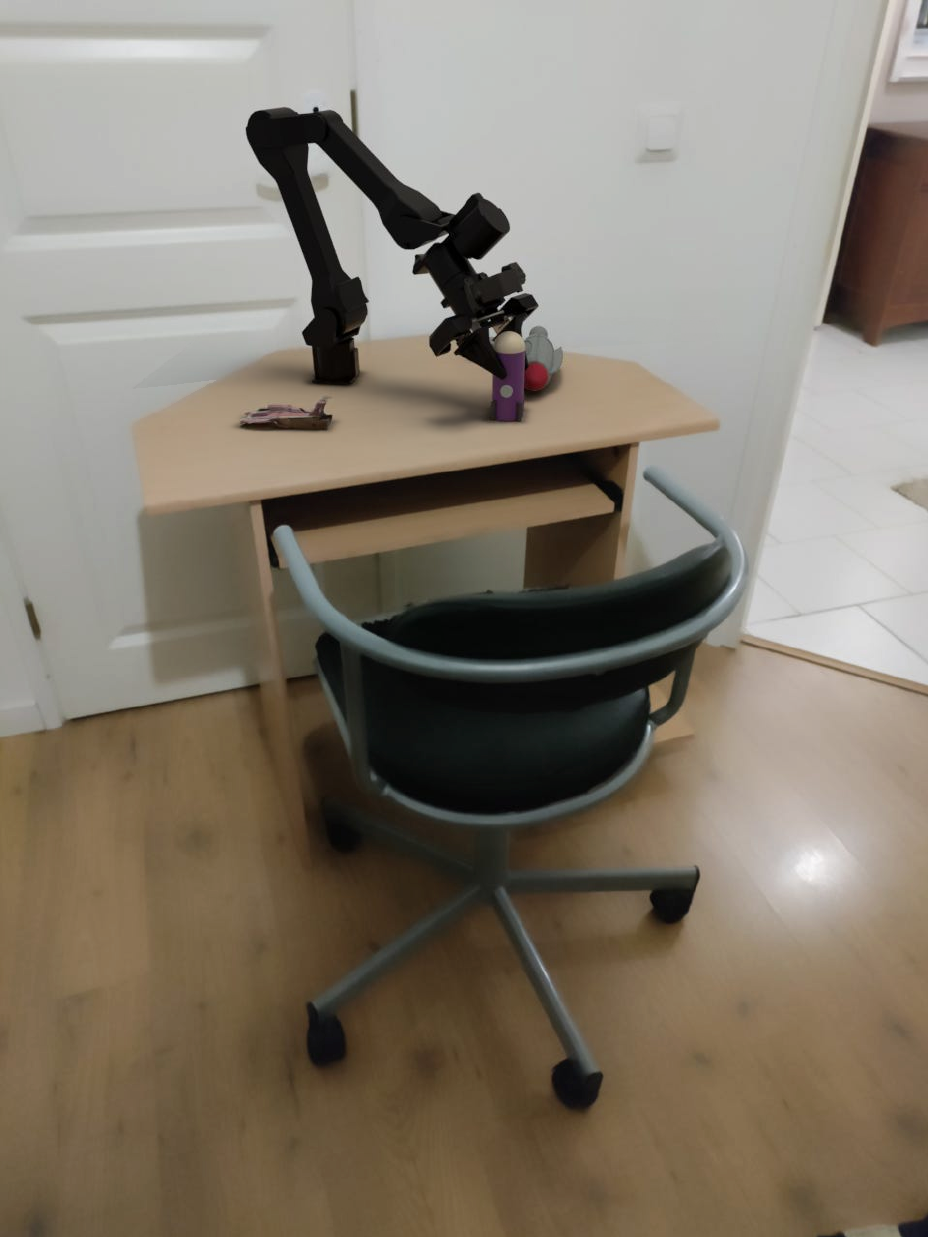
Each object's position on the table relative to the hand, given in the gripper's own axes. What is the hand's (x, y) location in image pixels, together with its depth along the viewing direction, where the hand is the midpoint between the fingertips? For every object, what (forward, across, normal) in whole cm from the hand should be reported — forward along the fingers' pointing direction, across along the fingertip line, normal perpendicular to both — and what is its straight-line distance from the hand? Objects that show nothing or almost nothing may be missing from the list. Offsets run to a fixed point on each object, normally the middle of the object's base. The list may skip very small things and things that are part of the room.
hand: (515, 373), depth 129 cm
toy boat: (-12, -23, +22) cm, 34 cm away
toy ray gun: (-4, +15, +13) cm, 21 cm away
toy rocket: (+4, 0, +6) cm, 7 cm away
